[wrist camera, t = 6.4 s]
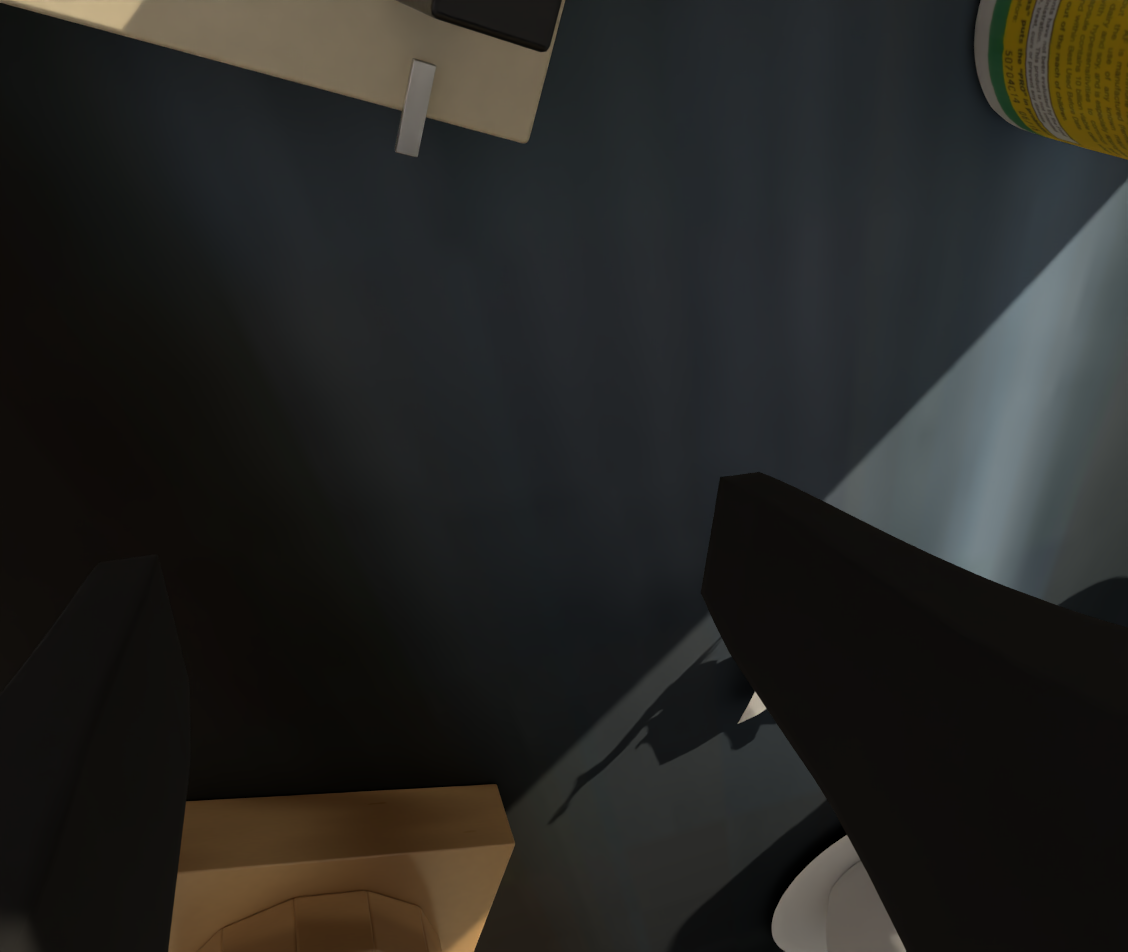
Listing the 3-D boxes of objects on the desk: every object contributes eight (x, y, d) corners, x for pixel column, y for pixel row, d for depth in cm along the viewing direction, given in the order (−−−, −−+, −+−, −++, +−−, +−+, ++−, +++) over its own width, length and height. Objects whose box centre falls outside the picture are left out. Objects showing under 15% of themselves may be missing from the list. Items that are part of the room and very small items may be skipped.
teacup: (740, 880, 34) (803, 998, 31) (957, 757, 35) (1045, 858, 31) (793, 973, 40) (851, 1082, 37) (978, 868, 41) (1054, 964, 37)
